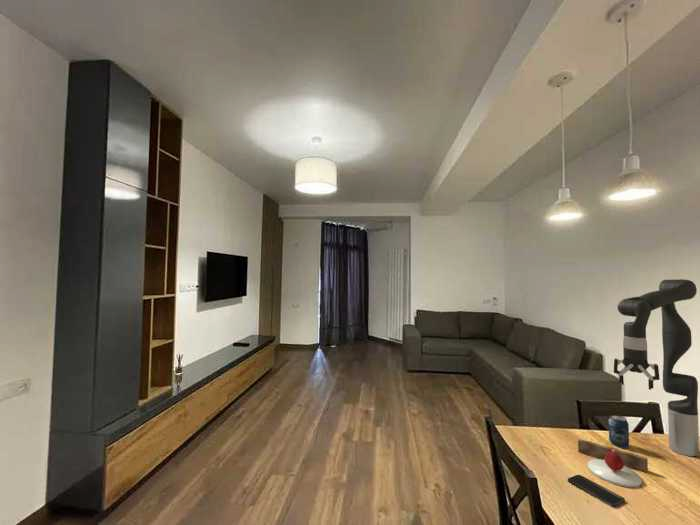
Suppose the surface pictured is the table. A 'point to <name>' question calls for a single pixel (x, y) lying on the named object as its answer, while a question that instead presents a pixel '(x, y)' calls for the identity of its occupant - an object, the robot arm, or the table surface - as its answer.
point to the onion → (614, 461)
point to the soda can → (619, 431)
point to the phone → (596, 491)
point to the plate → (614, 474)
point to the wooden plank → (628, 458)
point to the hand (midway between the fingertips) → (636, 386)
